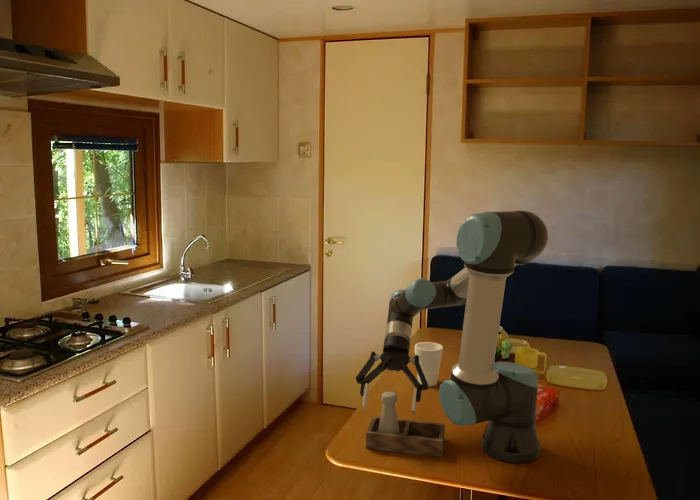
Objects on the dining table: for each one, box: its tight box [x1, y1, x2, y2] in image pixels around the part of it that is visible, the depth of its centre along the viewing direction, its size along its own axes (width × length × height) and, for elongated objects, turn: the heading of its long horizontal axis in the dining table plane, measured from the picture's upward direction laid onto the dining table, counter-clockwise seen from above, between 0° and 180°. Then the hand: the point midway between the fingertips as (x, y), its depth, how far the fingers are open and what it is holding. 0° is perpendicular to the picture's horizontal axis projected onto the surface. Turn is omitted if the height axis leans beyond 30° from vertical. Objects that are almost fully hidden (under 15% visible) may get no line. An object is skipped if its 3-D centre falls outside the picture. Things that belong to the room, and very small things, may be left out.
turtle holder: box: [497, 325, 514, 360], centre depth 235 cm, size 12×18×12 cm
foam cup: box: [414, 341, 444, 387], centre depth 209 cm, size 10×9×13 cm
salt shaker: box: [378, 391, 399, 434], centre depth 166 cm, size 6×6×13 cm
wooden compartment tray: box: [365, 415, 446, 458], centre depth 166 cm, size 20×10×4 cm, turn 77°
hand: (388, 410), depth 167 cm, fingers open, 13 cm apart
